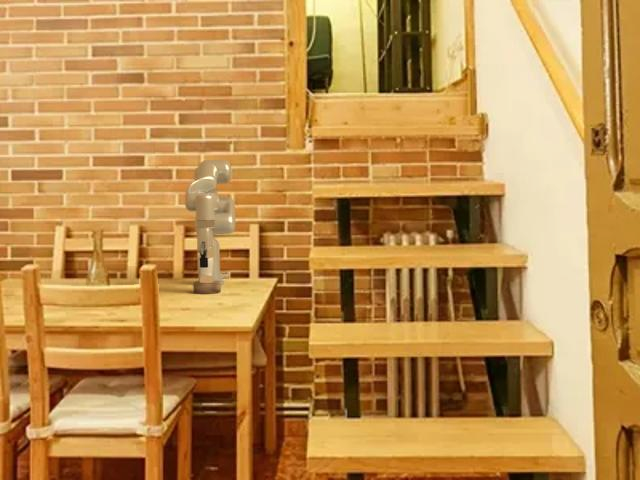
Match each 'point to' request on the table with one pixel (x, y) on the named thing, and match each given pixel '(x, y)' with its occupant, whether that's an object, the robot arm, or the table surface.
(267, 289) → the table surface
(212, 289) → the walnut pedestal
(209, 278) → the beer glass
